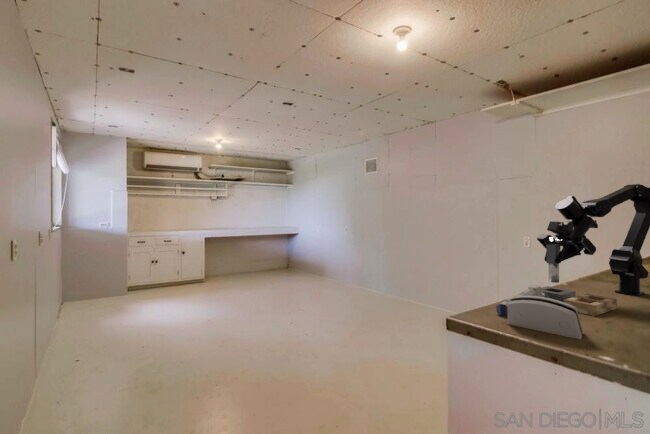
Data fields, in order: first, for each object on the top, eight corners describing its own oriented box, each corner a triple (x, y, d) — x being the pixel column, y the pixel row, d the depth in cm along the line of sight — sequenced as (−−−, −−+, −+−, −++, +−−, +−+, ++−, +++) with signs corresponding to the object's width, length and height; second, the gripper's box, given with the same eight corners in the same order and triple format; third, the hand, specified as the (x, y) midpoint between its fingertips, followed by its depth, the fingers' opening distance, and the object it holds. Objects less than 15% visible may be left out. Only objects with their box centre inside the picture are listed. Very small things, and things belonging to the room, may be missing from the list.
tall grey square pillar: (551, 280, 117) (551, 243, 117) (561, 281, 115) (560, 244, 115) (546, 281, 116) (546, 244, 116) (556, 283, 113) (555, 245, 113)
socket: (547, 294, 122) (547, 286, 122) (575, 299, 114) (575, 291, 114) (533, 297, 117) (533, 289, 117) (561, 303, 109) (561, 294, 109)
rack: (586, 302, 110) (586, 293, 110) (616, 308, 103) (616, 298, 103) (564, 309, 104) (564, 299, 104) (594, 316, 97) (594, 305, 97)
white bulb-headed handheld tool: (492, 301, 101) (529, 279, 115) (494, 322, 101) (531, 297, 116) (510, 305, 97) (546, 281, 111) (512, 327, 97) (548, 300, 111)
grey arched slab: (585, 333, 84) (582, 299, 81) (581, 345, 80) (579, 310, 78) (512, 319, 96) (507, 289, 93) (507, 328, 93) (502, 297, 90)
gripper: (540, 213, 125) (515, 243, 123) (588, 213, 106) (559, 249, 105) (559, 233, 126) (534, 263, 125) (609, 236, 108) (580, 272, 106)
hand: (550, 261), depth 115 cm, fingers closed on tall grey square pillar, 4 cm apart
